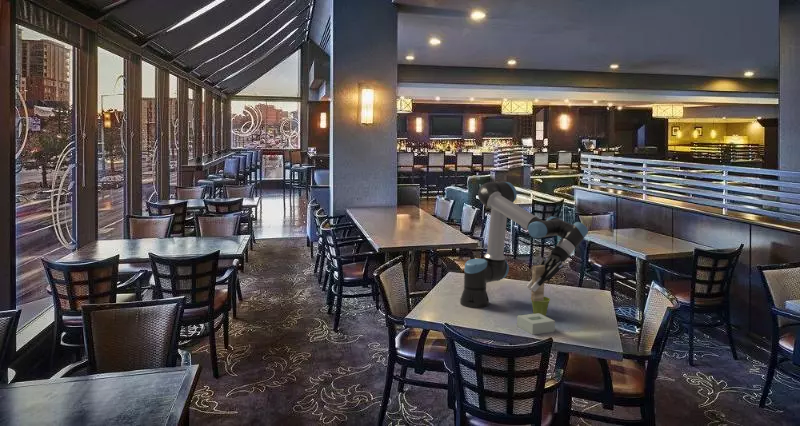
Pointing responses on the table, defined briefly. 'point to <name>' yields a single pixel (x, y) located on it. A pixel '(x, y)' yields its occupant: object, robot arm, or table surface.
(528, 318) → the end cap
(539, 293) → the slat
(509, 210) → the robot arm
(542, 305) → the plant pot
